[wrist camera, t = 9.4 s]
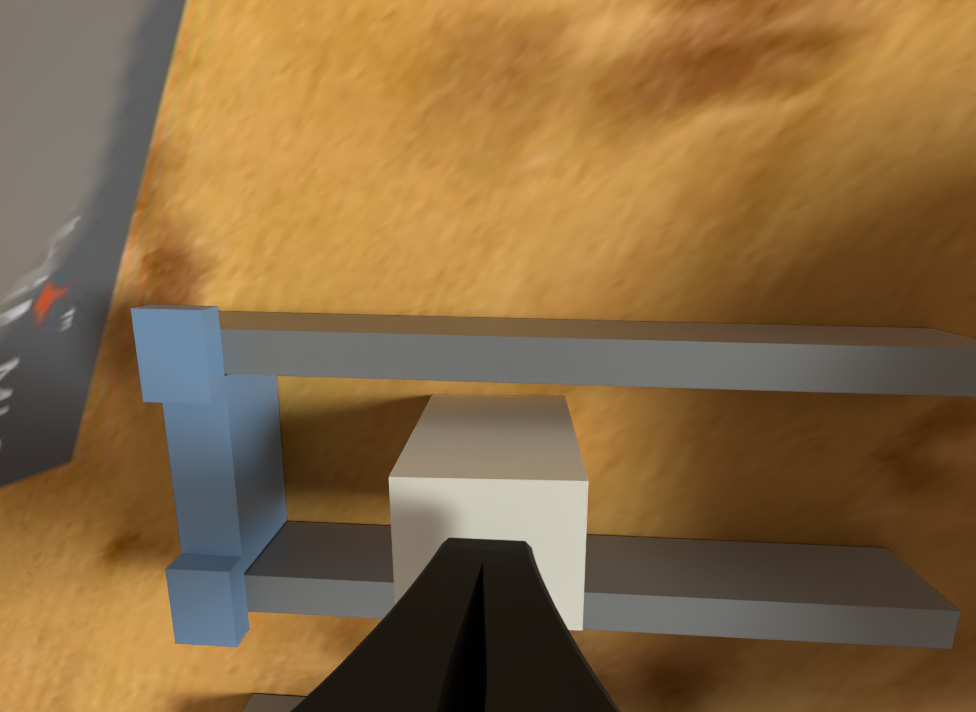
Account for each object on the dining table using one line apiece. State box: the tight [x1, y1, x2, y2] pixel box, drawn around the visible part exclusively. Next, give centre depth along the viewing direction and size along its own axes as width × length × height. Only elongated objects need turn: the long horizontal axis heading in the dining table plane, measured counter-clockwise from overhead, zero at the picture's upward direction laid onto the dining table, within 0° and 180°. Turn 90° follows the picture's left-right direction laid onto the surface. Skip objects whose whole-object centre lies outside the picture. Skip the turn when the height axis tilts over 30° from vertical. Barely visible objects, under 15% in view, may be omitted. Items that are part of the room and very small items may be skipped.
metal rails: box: [131, 305, 976, 712], centre depth 14 cm, size 18×14×3 cm
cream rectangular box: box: [389, 394, 588, 630], centre depth 12 cm, size 4×3×5 cm
